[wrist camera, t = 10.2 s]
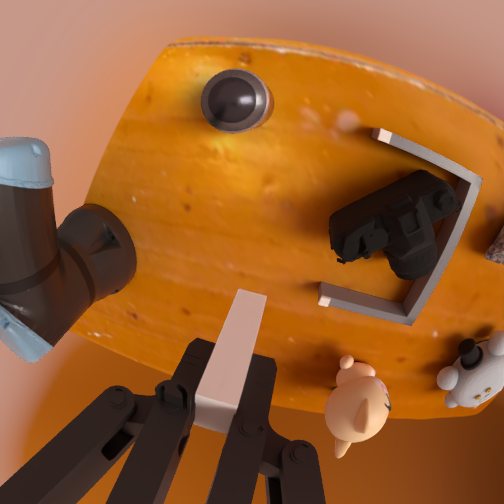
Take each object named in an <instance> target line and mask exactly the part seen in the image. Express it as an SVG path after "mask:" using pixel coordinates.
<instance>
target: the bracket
mask: <svg viewBox="0 0 504 504" xmlns="http://www.w3.org/2000/svg"><path fill="white" fill-rule="evenodd" d="M371 138H374V139H376V140H379V141H382V142H384V143H387V144H389V145H392V146H394V147H397V148H399V149H402V150H404V151H406V152H409V153H411V154H413V155H415V156H418V157H420V158H422V159H424V160H426V161H429V162H431V163H433V164H435V165H437V166H439V167H441V168H443V169H445V170H447V171H449V172H451V173H453V174H455V175H457V176H459V177H460V178H459V181H458V184H457V187H456V189H455V194H456V199H459V200H460V201H461V202H462V204H463V207H462V210H460V211H459V212H456V211H455V210H454V211H453V212H452V213H451V214H450V215H449V216H446V217H445V218H444V221H443V223H442V225H441V228H440V230H439V232H438V235H437V237H436V239H435V243H436V247H437V264H436V266H435V268H434V269H433V270H431V271H430V272H429V273H428V274H427V275H425V276H423V277H420V278H418V279H416V280H415V282H414V284H413V285H412V287H411V289H410V291H409V293H408V294H407V296H406V298H405V300H404V301H403V303H402V304H401V303H397V302H393V301H390V300H386V299H382V298H378V297H375V296H371V295H368V294H364V293H360V292H357V291H353V290H349V289H346V288H342V287H338V286H335V285H331V284H328V283H324V282H321V284H320V286H319V289H318V305H322V306H326V307H328V305H329V306H333V307H337V308H341V309H344V310H348V311H352V312H356V313H360V314H364V315H368V316H372V317H376V318H380V319H384V320H388V321H392V322H397V323H401V324H405V325H409V326H412V324H413V323H414V321H415V320H416V318H417V316H418V315H419V313H420V312H421V310H422V308H423V307H424V305H425V304H426V302H427V300H428V299H429V297H430V295H431V293H432V292H433V290H434V288H435V286H436V285H437V283H438V281H439V279H440V277H441V276H442V274H443V272H444V270H445V268H446V266H447V264H448V262H449V260H450V258H451V256H452V254H453V252H454V250H455V248H456V246H457V244H458V241H459V239H460V237H461V235H462V233H463V230H464V228H465V226H466V223H467V221H468V218H469V216H470V213H471V211H472V208H473V206H474V203H475V200H476V198H477V195H478V192H479V189H480V186H481V183H482V180H483V178H481V177H479V176H478V175H476V174H474V173H473V172H471V171H469V170H468V169H466V168H464V167H462V166H460V165H459V164H457V163H455V162H453V161H451V160H449V159H447V158H445V157H443V156H441V155H440V154H438V153H435V152H433V151H431V150H429V149H427V148H425V147H423V146H421V145H419V144H416V143H414V142H412V141H410V140H407V139H405V138H403V137H400V136H398V135H396V134H393V133H391V132H389V131H386V130H384V129H381V128H373V132H372V135H371ZM456 207H457V208H458V209H457V210H459V209H460V206H459V205H458V204H457V206H456Z"/></svg>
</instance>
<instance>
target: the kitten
mask: <svg viewBox="0 0 504 504" xmlns="http://www.w3.org/2000/svg"><path fill="white" fill-rule="evenodd" d="M340 367H341V369H340V370H339V371H338V373H337V376H336V383H337V385H338V387H337V388H333V391H332V393H331V394H330V395H329V397H328V399H327V401H326V405H325V418H326V423H327V426H328V428H329V430H330V431H331V433H332V434H333V435H334V436H335V437H336V441H335V442H336V443H335V456H336V457H337V458H340V457H342V456H343V455H344V454H345V452H346V451H347V449H348V448H349V446H350V444H351V442H360V441H363V440H366V439H369V438H370V437H372V436H373V435H375V434H376V433H377V432H378V431H379V430H380V429H381V428H382V426H383V425H384V423H385V421H386V419H387V416H388V412H389V411H390V410H391V403H390V400H389V396H388V392H387V389H386V387H385V385H384V383H383V382H382V381H381V380H380V379H378V378H377V377H374V376H375V370H374V369H373V368H372V367H371V366H370V365H368V364H366V363H360V362H354V359H353V357H352V356H351V355H345V356H343V357H342V358H341V359H340ZM389 403H390V407H389Z"/></svg>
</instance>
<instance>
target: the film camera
mask: <svg viewBox="0 0 504 504" xmlns="http://www.w3.org/2000/svg"><path fill="white" fill-rule="evenodd" d="M457 204H458V205H459V206H460V209H459V210H457V209H458V208H457V207H456V206H457ZM462 207H463V204H462V202H461V201H460V200H459V199H456V194H455V191H454V189H453V188H452V187H451V186H450V185H449V184H448V183H447V182H446V181H444V180H442V179H440V178H438V177H436V176H434V175H433V174H431V173H429V172H428V171H425V170H420V171H418V172H415V173H412V174H411V175H409V176H407V177H405V178H402V179H400V180H398V181H396V182H394V183H392V184H390V185H388V186H386V187H384V188H382V189H380V190H377V191H375V192H373V193H372V194H369V195H367V196H365V197H363V198H361V199H359V200H357V201H355V202H353V203H351V204H349V205H348V206H346V207H344V208H342V209H340V210H338V211H337V212H335V213H334V214H333V215H332V216H331V217H330V222H329V227H330V229H329V234H330V243H331V250H333V249H334V251H335V253H336V254H337V255H338V256H339V257H340V258H342V260H341V259H339V258H337V262H340V263H343V264H345V263H346V262H353V261H355V260H356V259H359V258H361V257H364V259H368V258H370V257H371V253H372V252H374V251H377V250H381V249H383V251H384V253H385V255H386V256H387V259H388V261H389V264H390V267H391V269H392V270H393V271H394V272H395V274H396V276H398V278H401V279H404V280H415V279H418V278H420V277H423V276H425V275H427V274H428V273H429V272H430V271H431V270H433V269H434V268H435V266H436V264H437V247H436V243H435V241H434V239H435V237H434V235H435V232H434V229H433V223H435V222H437V221H440V220H441V219H443V218H445V217H446V216H449V215H450V214H451V213H452V212H453V211H454V210H455V211H456V212H459V211H460V210H462Z"/></svg>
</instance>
